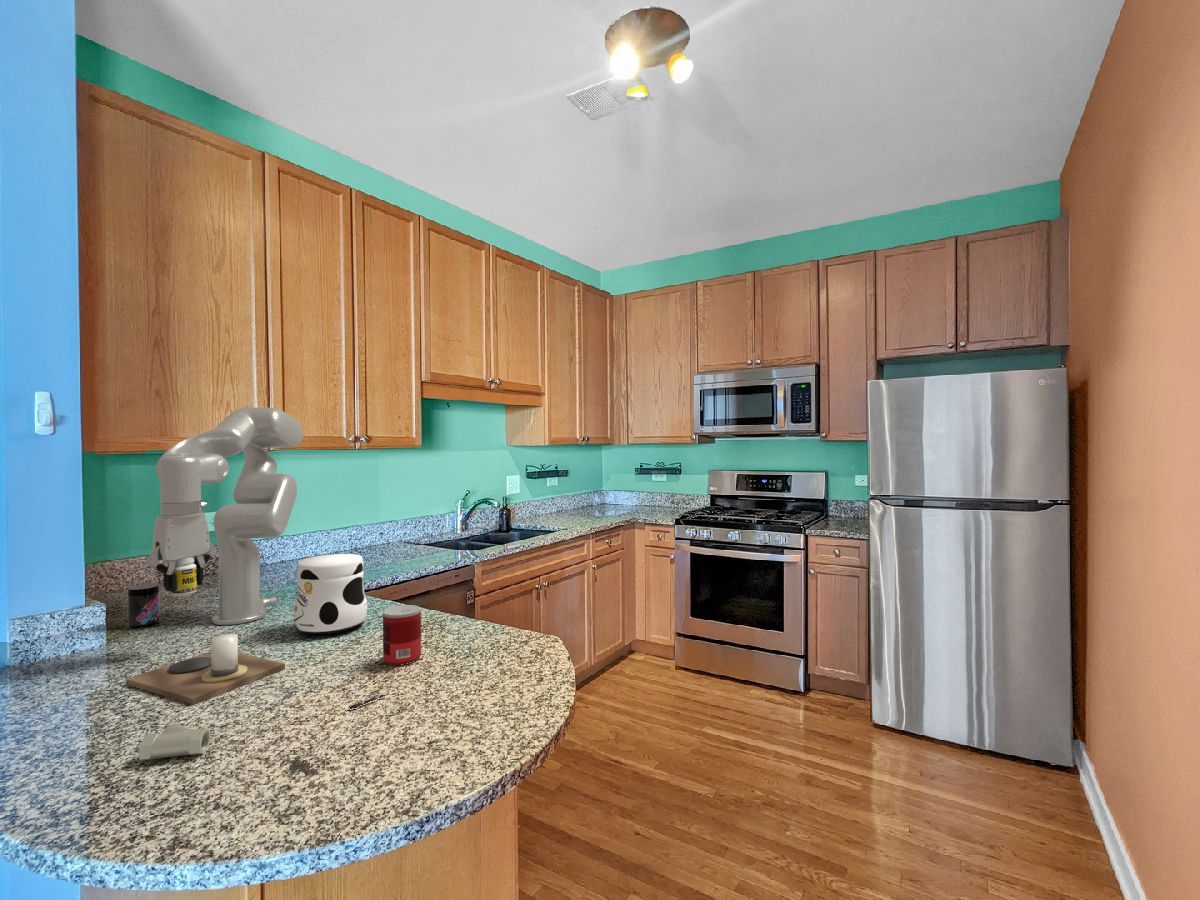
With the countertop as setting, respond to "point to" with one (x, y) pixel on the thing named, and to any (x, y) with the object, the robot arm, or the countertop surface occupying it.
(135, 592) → the supplement container
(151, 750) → the pipe fitting
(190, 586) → the supplement bottle
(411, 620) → the canned food
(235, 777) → the countertop surface
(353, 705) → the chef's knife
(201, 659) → the pin board
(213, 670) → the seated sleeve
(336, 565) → the milk container
